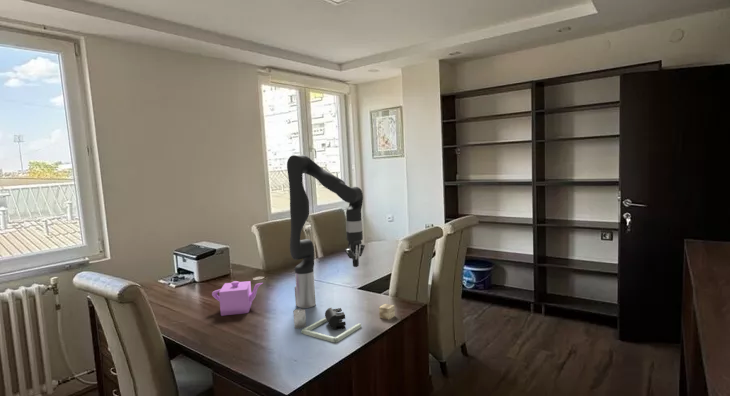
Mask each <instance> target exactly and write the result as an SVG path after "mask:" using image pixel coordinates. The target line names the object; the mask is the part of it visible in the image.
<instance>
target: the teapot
mask: <svg viewBox="0 0 730 396" xmlns="http://www.w3.org/2000/svg"><path fill="white" fill-rule="evenodd" d="M262 284H264V282H259V283H255V285H254V287H253V290H252V286H251V285H252V284H251V280H248V281H247V280H246V281H237V280H234V281H232V282H224V284H223V285H222V287H221V288H219V289H216V290H214V291H212V292H211V296H212V297H213V298H214V299H215V300H217V301H218V302H219V308H220V317H223V316H234V315H242V314H248V313H249V312H250V310H251V307H252V303H253V301H254V300H255V298H256V296H257V293H258V288H260V286H261V285H262Z"/></svg>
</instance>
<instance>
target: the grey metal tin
mask: <svg viewBox="0 0 730 396" xmlns="http://www.w3.org/2000/svg"><path fill="white" fill-rule="evenodd" d="M306 321H307V320H306V308H297V309H294V310H293V322H294V324H293V326H294V329H299V330H300V329H301V330H302V329H304V328H306V327H307V322H306Z"/></svg>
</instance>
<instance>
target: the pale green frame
mask: <svg viewBox="0 0 730 396" xmlns="http://www.w3.org/2000/svg"><path fill="white" fill-rule="evenodd" d="M325 323H328V321H327V319H326V317H325V316H324V318H321V319H320V320H317V321H316V322H314V323H312V324H310V325H308V326H306V327H304V328H301V334H303V335H306V336H310V337H314V338H317V339H321V340H324V341H328V342H332V343H334V344H336V343H338V342H340V341H341V340H343V339H344V338H347V336H349V335H351V334H352V333H354V332H356V331H357V330H359V329H360V328H362V323H360V322H359V323H356V324H355V325H353V326H351V327H350V328H348V329H346V330H345V331H343V332H342V333H340V334H338V335H336V336H332V335H328V334H324V333H320V332H317V331H314V329H316V328H318V327H320V326H321V325H323V324H325ZM312 330H313V331H312Z"/></svg>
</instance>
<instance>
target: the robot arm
mask: <svg viewBox="0 0 730 396" xmlns="http://www.w3.org/2000/svg"><path fill="white" fill-rule="evenodd" d="M286 170H287V177H288V186H289V211H290V212H289V213H290V214H289V215H290V239H289V242H290V243H289V251H290V256H291V258H292V259H293V260H296V261H297V260H301V262H299V263H298V264H297V265H296V266H295V267H294V275H295V276H294V278H295V279H294V280H295V286H294V301H295V306H297V308H298V309H310V308H312V307H315V306H316V290H315V289H316V288H315V285H316V284H315V272H314V270H315V269H314V268H315V246H314V243H313V241H312V240H311V239H310V238H305V239H301V234H302V230H303V228H304V226H305V224H306V222H307V220H308V218H309V217H310V200H309V197H308V194H307V192H306V190H305V188H304V184H303V174H305V175H309V176H311V177H312V178H314V179H316V180H317V181H318V182H319V183H320V185H321V186H323V187H324V188H325V189H327V190H329V191H330V192H332V193H334V194H336V195H337V196H338V197H339V198H340V199H341V200H342V201H344V202H346V203H347V204H348V207H347V208H346V211H345V215H346V217H345V218H346V222H345V223H346V224H345V225H346V226H345V229H346V230H345V231H346V233H345V234H346V240H347V242H348V244H347V248H345V250H344V252H345V254H346V255H347V257H348V258H349V259H351V260H352V266H353V267H354V268H358V267H359V266H360V265H359V264H360V263H359V262H360V261H359V259H360V257H362V254H363V252H364V249H365V247H366V246H365V244H363V243H362V241H363V240H364V235H363V234H364V233H363V221H362V207H363V201H364V194H363V193H364V192H363V191H362V189H361V188H360V187H358V186H353V187H352V186H349V185H347V184H346V183H345V180H343V179H341V178H339V177H338V176H336V175H334V174H333V173H331V172H329V171H327V170H326V169H324V168H323V167H321V166H320V165H318V164H317V163H316V162H314V161H313V160H312V159H311V158H310V157H308V156H307V154H306V155H305V154H293V155H290V156H289V157H288V159H287V162H286Z"/></svg>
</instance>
